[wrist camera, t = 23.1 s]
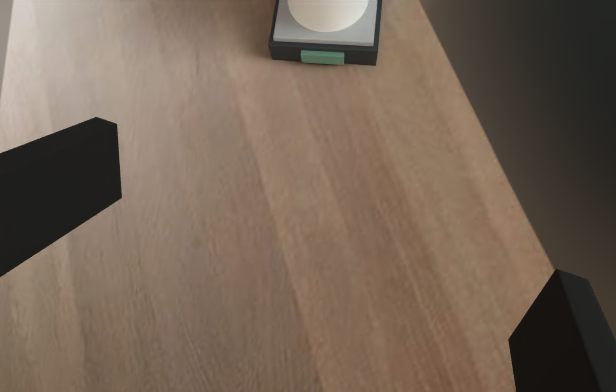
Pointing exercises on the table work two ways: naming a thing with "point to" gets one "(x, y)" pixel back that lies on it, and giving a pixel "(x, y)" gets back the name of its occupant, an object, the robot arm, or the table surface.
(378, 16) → the scale
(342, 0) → the cup
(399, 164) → the table surface
